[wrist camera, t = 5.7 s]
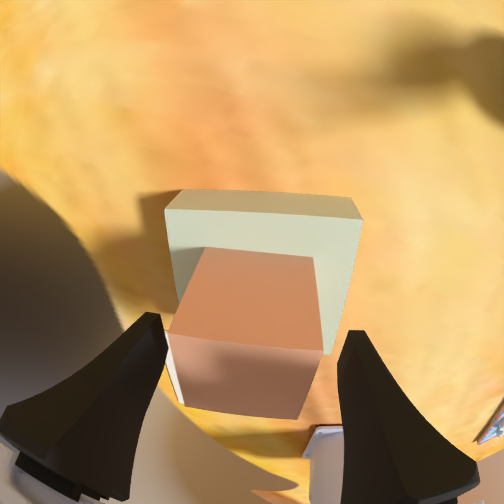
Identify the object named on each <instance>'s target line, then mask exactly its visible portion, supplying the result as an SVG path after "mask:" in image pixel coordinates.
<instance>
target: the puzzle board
mask: <svg viewBox="0 0 504 504" xmlns="http://www.w3.org/2000/svg"><path fill="white" fill-rule="evenodd" d="M503 434H504V402H503V404H502V405H501V407H500V409H499V410H498V412H497V413H496V414H495V416H494V417H493V419H492V420H491V422H490V423H489V424H488V426H487V427H486V429H485V430H484V431H483V433H482V434H481V435H480V437H479V438H478V439H477V445H480V444H482V443H484V442H486V441H488V440H490V439H492V438H494V437H496V436H498V437H499V436H502V435H503Z"/></svg>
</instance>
